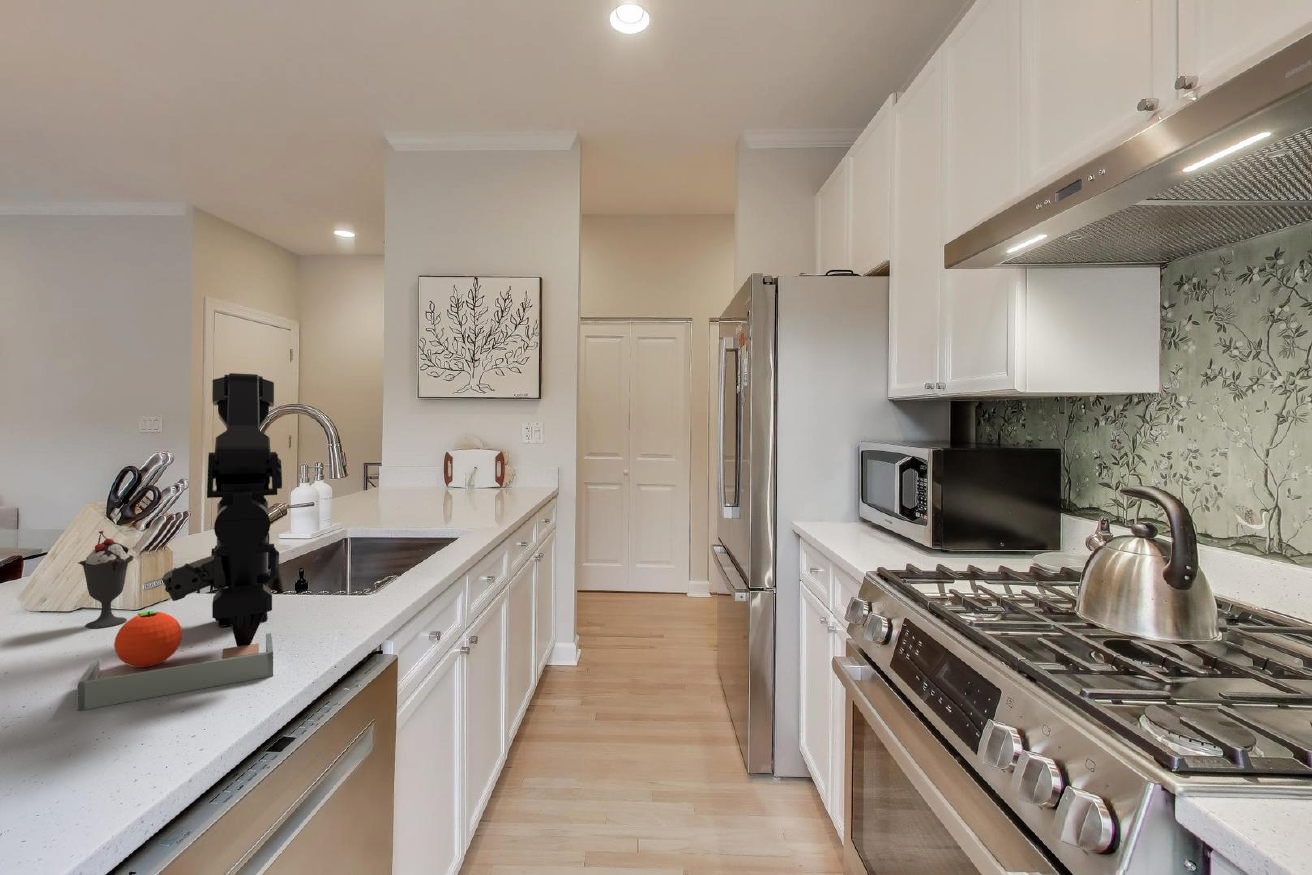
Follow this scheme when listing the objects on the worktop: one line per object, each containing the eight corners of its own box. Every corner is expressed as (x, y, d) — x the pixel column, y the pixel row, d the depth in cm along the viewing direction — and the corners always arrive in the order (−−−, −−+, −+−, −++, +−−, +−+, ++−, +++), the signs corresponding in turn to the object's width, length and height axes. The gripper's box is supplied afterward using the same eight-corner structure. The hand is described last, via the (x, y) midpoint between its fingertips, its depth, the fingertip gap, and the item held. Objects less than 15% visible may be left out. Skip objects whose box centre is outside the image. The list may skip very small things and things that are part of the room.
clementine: (104, 665, 82) (104, 611, 81) (168, 649, 87) (168, 599, 87) (124, 680, 77) (124, 623, 77) (190, 663, 83) (190, 610, 83)
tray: (271, 654, 86) (271, 633, 86) (273, 675, 79) (273, 652, 79) (93, 683, 76) (93, 659, 76) (77, 710, 69) (77, 683, 69)
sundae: (86, 633, 93) (86, 533, 93) (71, 625, 97) (70, 529, 96) (141, 621, 99) (140, 528, 98) (124, 614, 102) (124, 523, 102)
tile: (258, 661, 85) (258, 643, 85) (258, 671, 81) (258, 652, 81) (223, 667, 83) (223, 648, 82) (221, 678, 79) (221, 658, 79)
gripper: (174, 530, 87) (174, 640, 88) (159, 555, 72) (159, 688, 72) (267, 524, 93) (267, 627, 94) (272, 546, 78) (272, 669, 78)
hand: (243, 650), depth 84 cm, fingers closed
